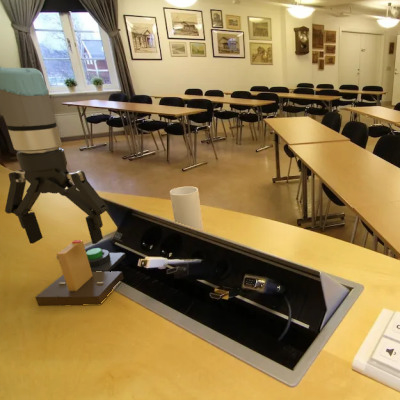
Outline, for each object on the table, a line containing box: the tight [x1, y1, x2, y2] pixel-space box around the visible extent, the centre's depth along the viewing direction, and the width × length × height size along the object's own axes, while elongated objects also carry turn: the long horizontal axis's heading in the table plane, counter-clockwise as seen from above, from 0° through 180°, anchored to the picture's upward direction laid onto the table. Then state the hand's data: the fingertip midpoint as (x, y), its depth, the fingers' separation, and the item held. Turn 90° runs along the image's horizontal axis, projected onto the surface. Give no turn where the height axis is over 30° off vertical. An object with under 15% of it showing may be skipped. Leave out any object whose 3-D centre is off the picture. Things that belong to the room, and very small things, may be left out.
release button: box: [86, 247, 103, 260], centre depth 88 cm, size 4×4×2 cm
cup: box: [169, 185, 205, 232], centre depth 103 cm, size 8×8×16 cm
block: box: [88, 249, 127, 272], centre depth 89 cm, size 11×9×3 cm
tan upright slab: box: [56, 239, 93, 291], centre depth 75 cm, size 6×2×10 cm, turn 1°
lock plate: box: [34, 271, 125, 307], centre depth 78 cm, size 14×10×3 cm
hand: (67, 241), depth 73 cm, fingers open, 13 cm apart
